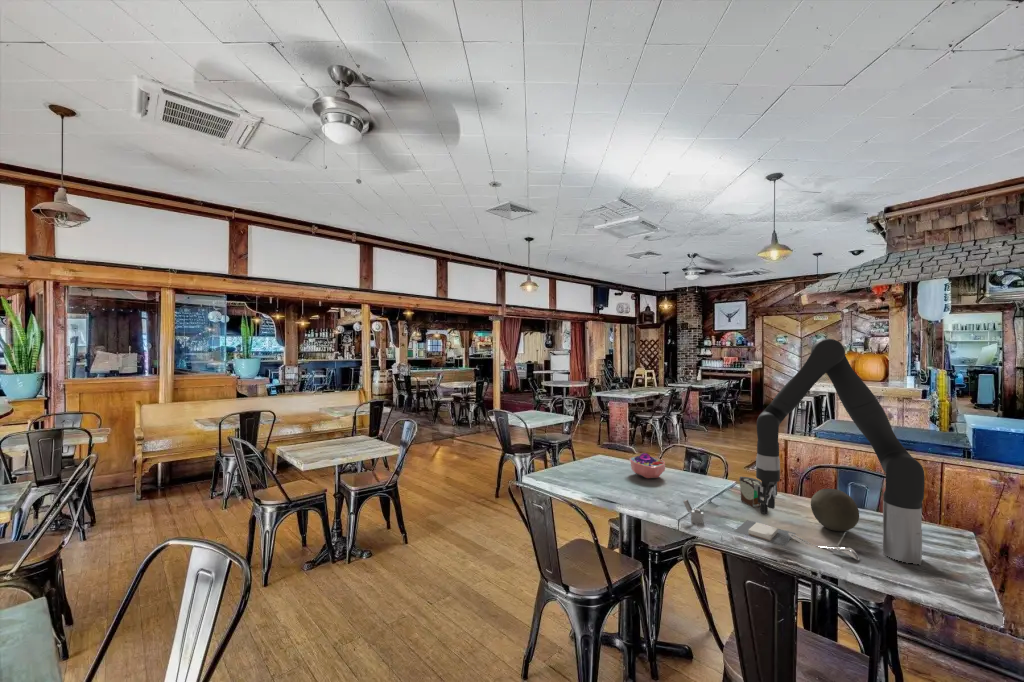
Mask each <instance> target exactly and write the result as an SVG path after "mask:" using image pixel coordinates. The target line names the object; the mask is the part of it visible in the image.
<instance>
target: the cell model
mask: <svg viewBox="0 0 1024 682" xmlns="http://www.w3.org/2000/svg"><path fill="white" fill-rule="evenodd" d="M629 461H630V468H631V470H632V472H633V473H635V474H636V475H638V476H641V477H643V478H645V479H657V478H659V477H661V475H662V474H663V473H664V472H665V470H666V462H665V460H663V459H661V458H658V457H654V456H651V455H650V453H647V452H642V453H640V455H636V456H631V457H629Z"/></svg>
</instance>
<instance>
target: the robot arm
mask: <svg viewBox="0 0 1024 682" xmlns="http://www.w3.org/2000/svg"><path fill="white" fill-rule="evenodd" d="M825 374H826V375H827V377H828V378H829V379H830V382H831V384H832V385H833V389H835V392H836V394H837V396H838V398H839V400H840V402H841V404H842V406H843V408H844V409H845V411H846V413H847V414H848V416H849V417H850V419H851V420H852V421H853V424H855V426H856V427H857V429H858V430H859V431H860V432H861V434H862V435H863V436H864V437H865V438H866V439H867V441H868V443H869V444H870V445H871V448H872V449H873V451H874V454H875V455H876V457H877V459H878V461H879V464H880V465H881V469H882V470H883V472H884V473H885V488H884V492H883V494H882V496H883V497H882V501H883V502H882V553H883V554H885V555H884V556H886V557H887V556H888V557H887V558H889V557H890V558H889V559H891V558H893V559H892V560H894V559H895V560H894V561H896V560H898V561H897V562H899V561H902V562H901V563H903V562H906V563H905V564H908V563H913V564H912V565H917V564H919V565H918V566H922V562H923V561H922V560H923V530H922V526H923V525H922V524H923V523H922V517H923V516H922V515H923V513H922V511H923V510H922V508H923V507H922V506H923V501H924V498H925V482H926V481H925V479H926V478H925V469H924V467H923V466H922V464H921V463H920V462H919V461H918V460H917V459H915V458H914V457H913V456H912V455H911V454H910V453H909V452H908V450H907V449H906V448H905V446H903V445H902V443H901V441H899V439H898V438H897V436H896V434H895V433H894V430H893V427H892V425H891V422H890V420H889V418H888V415H887V414H886V412H885V410H884V408H883V405H881V403H880V402H879V400H878V399H877V397H876V396H875V394H874V393H873V391H872V390H871V389H870V388H869V387H868V386H867V385H866V383H865V382H864V381H863V380H862V379H861V378H860V377H859V376H858V375H857V373H856V372H855V370H854V369H853V367H852V365H851V364H850V361H849V359H848V358H847V356H846V349H845V347H844V345H843V344H842V343H841V342H840V341H839V340H836V339H833V338H821V339H818V340H817V341H815V343H813V345H812V346H811V349H810V354H809V356H808V358H807V360H806V361H805V363H804V364H803V365H802V367H800V369H799V371H798V372H797V373H795V375H794V376H793V377H791V378H790V380H789V381H787V383H786V384H785V385H783V387H782V388H781V389H780V390H779V391H778V393H777V394H776V395H775V396H774V398H773V400H772V401H771V402H770V403H769V405H767V406H766V408H765V409H764V410H762V411H761V412H760V414H759V415H758V417H757V420H756V435H757V442H756V443H757V444H756V458H755V464H756V465H755V470H756V471H755V478H756V479H757V480H759V481H761V482H762V483H761V485H760V486H758V503H760V507H759V509H760V510H759V511H760V514H761V515H765V516H767V515H768V513H769V509H772V510H773V509H775V508H776V505H775V504H776V501H775V500H776V498H777V496H778V482H780V480H781V479H780V478H781V465H780V464H781V461H780V443H779V430H780V424H781V423H783V421H784V420H785V419H786V417H787V416H788V415H789V414H790V413H792V412H793V411H794V410H795V408H796V407H797V406H798V405H799V404H800V403H801V401H802V400H803V399H805V397H806V396H807V394H808V393H809V392H810V391H811V389H812V388H813V387H814V385H815V384H816V383H817V382H818V381H819V380H820V379H821V378H822V377H823V376H824V375H825Z"/></svg>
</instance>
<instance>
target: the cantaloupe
mask: <svg viewBox="0 0 1024 682" xmlns="http://www.w3.org/2000/svg"><path fill="white" fill-rule="evenodd" d="M810 507H811V511H812V514H813V516H814V518H815V520H817V521H818V523H819V524H821V526H823V527H824V528H827V529H828V530H830V531H832V532H847V531H849V530H850V531H851V530H853V528H855V527H856V526H857V524H858V523H859V521H860V510H859V508H858V505H857V504H856V501H855V500H854V499H853V497H851V496H850V495H849V494H847V493H846V492H844V491H842V490H840V489H835V488H822V489H820V490H818V491H816V492H815V493H814V494H813V495H812V497H811V499H810Z"/></svg>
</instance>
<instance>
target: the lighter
mask: <svg viewBox="0 0 1024 682" xmlns="http://www.w3.org/2000/svg"><path fill="white" fill-rule="evenodd" d="M682 502H683V504H684V507H685V509H686V511H687V512H688V513H689V512H691V514H690V516H691V517H690V520H691V521H690V523H691V524H695V525H698V524H701V525H704V522H705V521H704V520H705V519H704V518H705V517H704V515H705V514H704V511H702V510H701V509H699V508H694V509H692V505H691V503H690V501H689V500H688V499H685V500H682Z"/></svg>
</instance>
